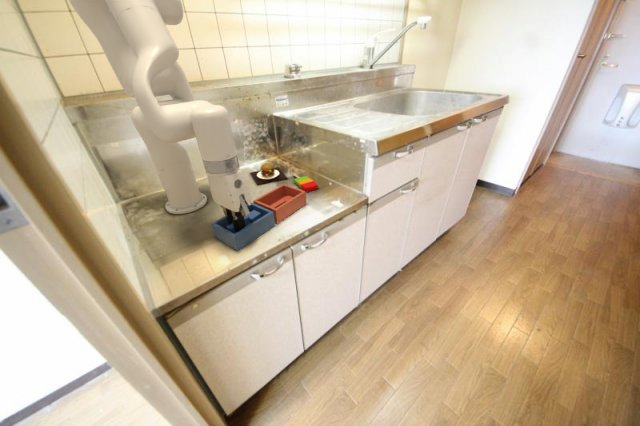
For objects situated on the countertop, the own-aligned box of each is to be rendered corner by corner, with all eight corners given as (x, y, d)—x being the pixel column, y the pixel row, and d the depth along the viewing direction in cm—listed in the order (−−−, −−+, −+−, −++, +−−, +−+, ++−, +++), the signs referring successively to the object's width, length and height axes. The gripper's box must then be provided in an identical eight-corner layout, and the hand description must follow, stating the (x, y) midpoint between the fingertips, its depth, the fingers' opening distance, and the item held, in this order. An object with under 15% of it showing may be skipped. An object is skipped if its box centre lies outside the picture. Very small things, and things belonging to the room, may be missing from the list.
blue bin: (215, 237, 70) (210, 223, 67) (253, 214, 79) (250, 201, 76) (237, 251, 65) (234, 236, 62) (275, 225, 74) (273, 211, 71)
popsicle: (305, 192, 90) (305, 188, 89) (287, 177, 101) (287, 173, 100) (319, 188, 92) (318, 184, 91) (300, 174, 103) (299, 170, 102)
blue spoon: (255, 214, 74) (253, 208, 73) (262, 217, 73) (260, 211, 72) (226, 232, 68) (224, 225, 67) (233, 236, 66) (231, 229, 65)
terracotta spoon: (288, 199, 85) (288, 193, 84) (295, 202, 84) (295, 196, 83) (267, 212, 79) (266, 206, 77) (274, 216, 77) (273, 209, 76)
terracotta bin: (255, 213, 79) (252, 200, 77) (285, 195, 88) (283, 183, 86) (277, 223, 75) (275, 210, 72) (306, 204, 84) (305, 191, 81)
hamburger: (278, 168, 109) (276, 155, 106) (287, 179, 100) (286, 166, 97) (250, 173, 105) (248, 161, 102) (257, 185, 95) (255, 172, 92)
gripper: (257, 165, 57) (268, 230, 67) (215, 152, 65) (230, 212, 75) (229, 177, 52) (245, 246, 62) (187, 161, 60) (208, 225, 70)
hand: (237, 227), depth 68 cm, fingers closed on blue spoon, 1 cm apart
